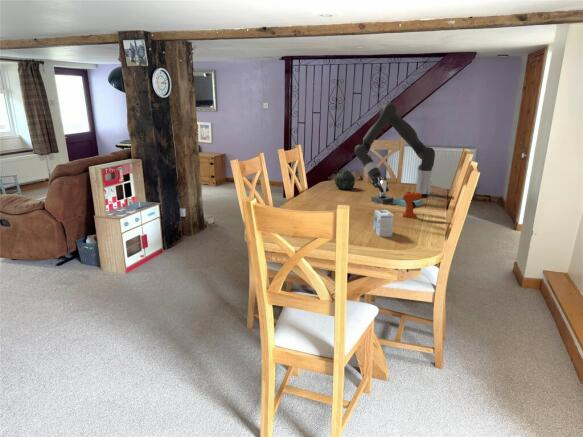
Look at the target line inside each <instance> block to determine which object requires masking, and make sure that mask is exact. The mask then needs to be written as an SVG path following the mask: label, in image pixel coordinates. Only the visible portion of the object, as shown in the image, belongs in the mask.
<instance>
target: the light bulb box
mask: <svg viewBox="0 0 583 437" xmlns="http://www.w3.org/2000/svg"><path fill="white" fill-rule="evenodd" d="M394 218H395V215H394V214H393V213H392V212H390V211H389V210H388V209H375V210H374V217H373V232H374V233H375V234H376V235H377V237H383V238H384V237H387V238H388V237H391V238H392V237H393V228H394Z"/></svg>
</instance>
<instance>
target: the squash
mask: <svg viewBox="0 0 583 437" xmlns="http://www.w3.org/2000/svg"><path fill="white" fill-rule="evenodd" d="M355 179H356V178H355V176H354V175H353V173H351V171H349V170H343V171H341V172H339V173H338V174H337V175H336V176H335V178H334V183H335V186H336V187H337V188H338V189H342V190H344V191H345V190H347V191H349V190H351V189H353V188H354V187H355V185H356V184H355V183H356V180H355Z"/></svg>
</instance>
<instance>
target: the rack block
mask: <svg viewBox="0 0 583 437" xmlns="http://www.w3.org/2000/svg"><path fill="white" fill-rule="evenodd" d="M423 202H424V200H423V199H420V200H417V201H414V203H415V205H416V207H419V206H420V207H421V206H423ZM392 204H393V205H396V204H397V206H400V205H401V207H404V206H405V208H406V202H405V201H404V200H403V196H402V197H398V198H394V199H393V202H392Z"/></svg>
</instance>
